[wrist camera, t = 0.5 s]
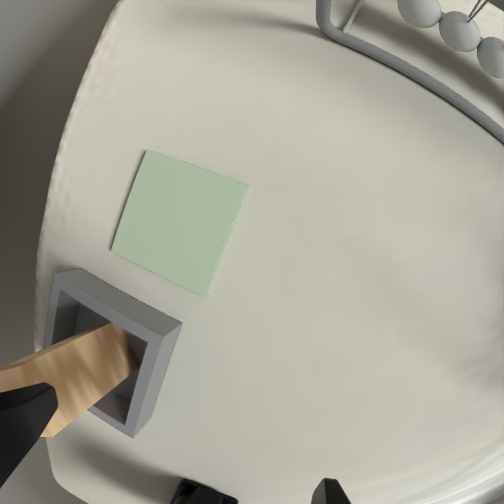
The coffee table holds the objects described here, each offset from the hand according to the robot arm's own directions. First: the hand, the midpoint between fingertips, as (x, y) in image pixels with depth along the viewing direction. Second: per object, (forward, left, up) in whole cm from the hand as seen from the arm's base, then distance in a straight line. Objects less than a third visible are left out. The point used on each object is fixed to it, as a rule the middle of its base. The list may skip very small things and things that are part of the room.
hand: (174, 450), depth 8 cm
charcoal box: (-8, +11, -16) cm, 21 cm away
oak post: (-8, +11, -16) cm, 21 cm away
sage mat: (+5, +9, -16) cm, 19 cm away
